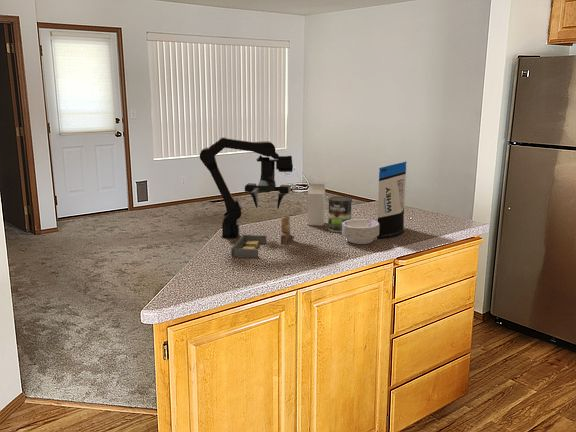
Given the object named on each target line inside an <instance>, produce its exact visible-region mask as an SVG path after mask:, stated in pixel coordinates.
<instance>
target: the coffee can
mask: <svg viewBox="0 0 576 432" xmlns="http://www.w3.org/2000/svg"><path fill="white" fill-rule="evenodd" d="M352 200H353V199H352V197H349V196H348V197H347V196H340V195H339V196H330V197H329V198H328V220H327V221H328V222H327V223H328V224H327V227H328V228H327V229H328V231H330V232H331V233H332V232H334V233H342V223H343V222H344V221H347V220H352Z"/></svg>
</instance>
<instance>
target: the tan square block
mask: <svg viewBox="0 0 576 432" xmlns="http://www.w3.org/2000/svg"><path fill="white" fill-rule="evenodd" d="M259 246H260V243H259V241H247V242H245V247H255V249H258V247H259Z"/></svg>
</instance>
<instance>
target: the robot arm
mask: <svg viewBox="0 0 576 432" xmlns="http://www.w3.org/2000/svg"><path fill="white" fill-rule="evenodd" d="M224 149H232V150H239V151H247V152H253V153H256V154H259V156H258V157H257V158H256V162H260V179H259V181H258V185H257V183H254V182H253V183H251V182H249V183H246V184H245V185H244V192H246V193H247V194H249V195H250V196H251V197H252V200H253V203H254V205H255V208H256V209H257V208H258V205H259V204H258V203H259V202H258V201H259V200H258V192H259V193H267V194H268V193H270V192H279V193H278V194H277V195H278V197H277V204H276V205H277V206H276V207H277V210H279V209H280V207H281V203H282V201H283V198H284V196H286V195H287V194H289V193H290V192H291V186H290V185H289V184H281V185H279V186H277V185H276V183H277V182H276V180H275V175H276V174H275V173H276V171H275V169H276V170H278V173H292V172H293V169H294V167H293V165H294V164H293V157H292V155H279V153H277V152H276V146H275V145H274V144H273V143H272V141H247V140H240V139H233V138H227V137H221V138H219V140H217V141H216V142H214V143H213V144H211V145H210V146H209V147H204V148H202V149H201V150H200V152H199V159H200V160H201V162H202V164H203V165H204V166H205V168H206V169H207V170H208V171H209V173H210V175H211V177H212V180H213V181H214V183H215V185H216V187H217V189H218V191H219V194H220V195H221V197H222V200H223V202H224V205H225V210H226V211H225V213H224V214H223V215H222V222H221V227H222V228H221V232H222V234H221V238H226V239H228V238H232V239H233V238H234V239H236V238H238V236H239V235H240V234H241V233H240V224H239V221H238V220H239V219H240V218H241V216H242V210H243V208H242V205H241V204H240V201H239V198H234V197H233V195H232V193H231V191H230V189H229V187H228V186H227V183H226V181H225V179H224V177H223V174H222V172H221V171H220V168H219V165H218V161H217V159H216V155H218V154H219V153H220V152H221V151H223V150H224ZM270 157H271V158H270Z"/></svg>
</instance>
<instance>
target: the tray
mask: <svg viewBox="0 0 576 432" xmlns="http://www.w3.org/2000/svg"><path fill="white" fill-rule="evenodd" d="M267 237H268V236H267V235H266V234H264V235H261V234H242V235H241V236H240V237H239V238H238V240H237V241H236V242H235V244H234V245H233V246H232V247H231V249H230V250H231V257H232V258H234V257H239V258H259V249H258V248H255V249H244V248H243V245H244V244H246V242H247V241H259V244H267V243H268V241H267V240H268V239H267Z"/></svg>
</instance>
